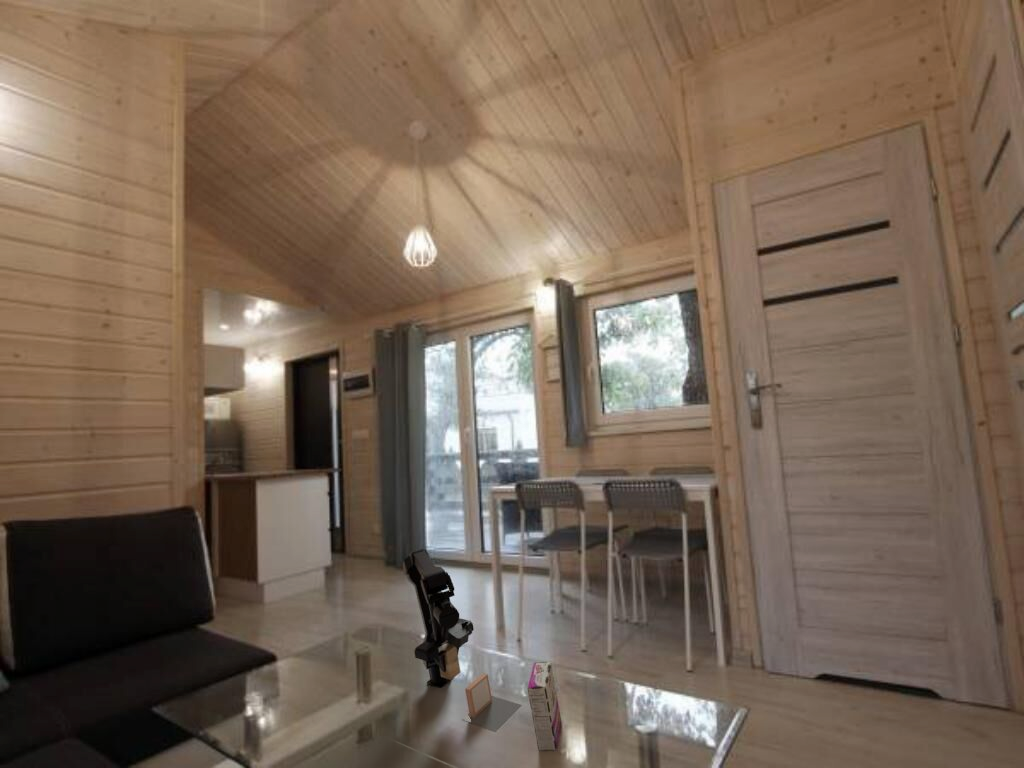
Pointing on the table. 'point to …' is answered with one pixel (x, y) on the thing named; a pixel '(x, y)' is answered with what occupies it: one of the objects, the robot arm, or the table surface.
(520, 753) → the table surface
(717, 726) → the table surface
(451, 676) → the oak block
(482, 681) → the terracotta tile
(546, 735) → the candy bar box
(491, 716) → the rubber mat
